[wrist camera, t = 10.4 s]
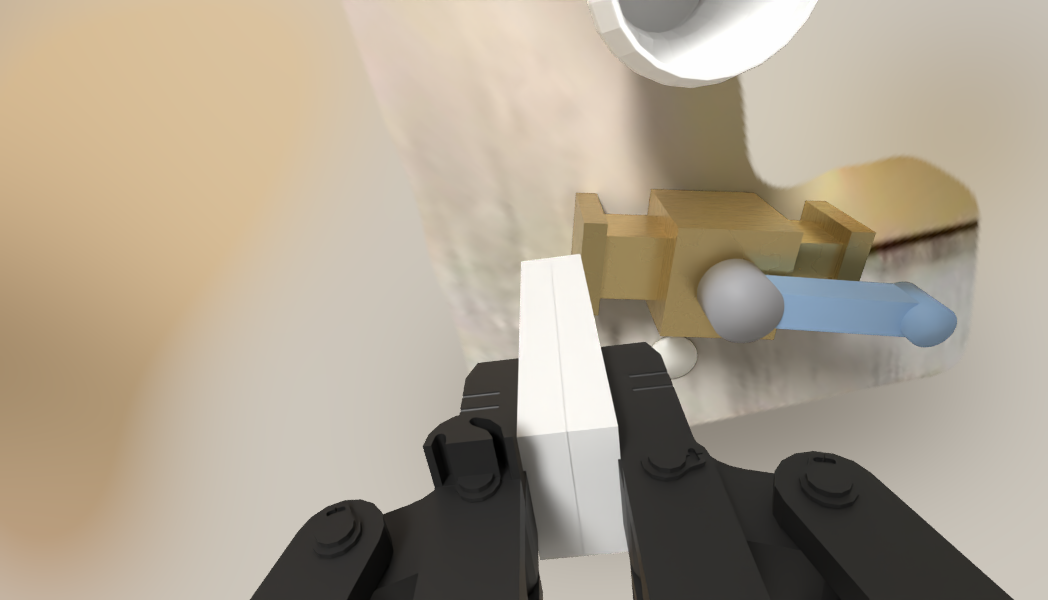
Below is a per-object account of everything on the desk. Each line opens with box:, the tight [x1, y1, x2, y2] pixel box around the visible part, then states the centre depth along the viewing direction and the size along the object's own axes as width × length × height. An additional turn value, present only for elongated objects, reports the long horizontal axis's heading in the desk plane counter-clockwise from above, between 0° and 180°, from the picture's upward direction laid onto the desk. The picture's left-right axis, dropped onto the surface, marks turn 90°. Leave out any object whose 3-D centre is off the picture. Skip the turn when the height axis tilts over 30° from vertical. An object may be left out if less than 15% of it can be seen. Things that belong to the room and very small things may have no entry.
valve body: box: [571, 189, 876, 340], centre depth 41 cm, size 20×8×9 cm, turn 88°
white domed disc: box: [652, 336, 697, 378], centre depth 50 cm, size 4×4×1 cm
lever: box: [697, 259, 957, 347], centre depth 35 cm, size 15×4×4 cm, turn 86°
